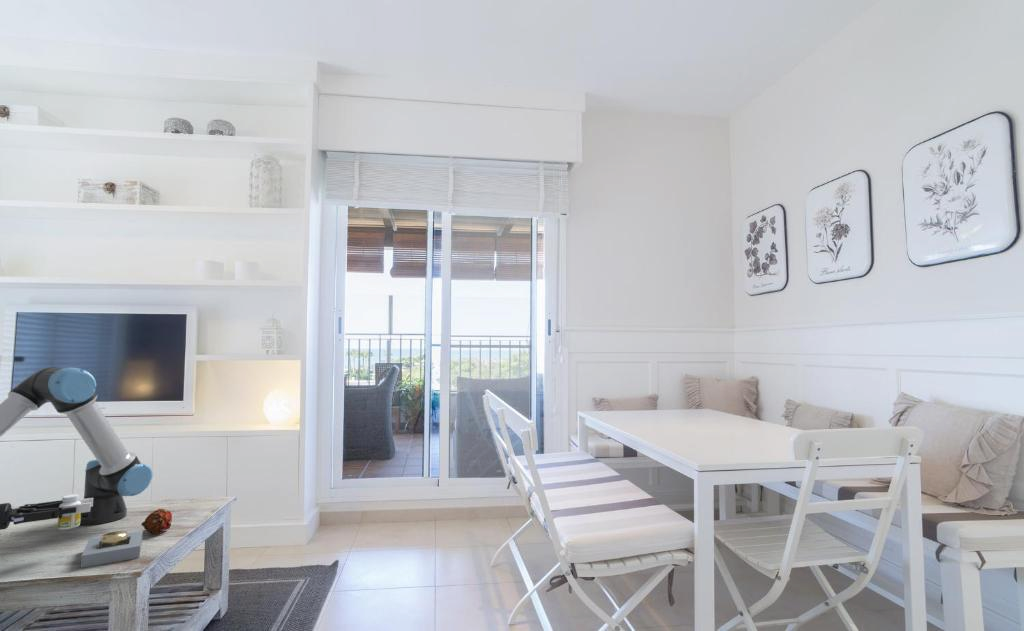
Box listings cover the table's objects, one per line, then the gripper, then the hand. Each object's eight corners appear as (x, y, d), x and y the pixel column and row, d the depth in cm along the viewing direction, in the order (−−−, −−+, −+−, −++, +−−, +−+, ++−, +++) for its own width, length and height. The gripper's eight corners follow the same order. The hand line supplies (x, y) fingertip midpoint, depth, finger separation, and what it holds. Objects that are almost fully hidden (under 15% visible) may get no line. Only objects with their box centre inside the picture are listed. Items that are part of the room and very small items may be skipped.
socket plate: (88, 550, 162) (89, 539, 162) (141, 541, 169) (142, 530, 170) (80, 567, 148) (81, 555, 149) (139, 557, 156) (140, 546, 156)
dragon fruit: (157, 541, 174) (151, 537, 182) (181, 522, 179) (174, 519, 188) (141, 524, 171) (135, 521, 180) (165, 505, 177) (159, 502, 185)
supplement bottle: (76, 522, 162) (78, 492, 163) (83, 525, 159) (84, 494, 160) (54, 527, 158) (56, 496, 158) (61, 531, 155) (63, 499, 156)
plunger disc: (102, 541, 160) (103, 533, 160) (127, 537, 164) (128, 529, 164) (100, 547, 155) (100, 539, 155) (125, 543, 158) (126, 535, 159)
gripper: (-2, 522, 156) (94, 508, 169) (-21, 540, 141) (86, 524, 154) (0, 497, 157) (95, 486, 170) (-19, 513, 142) (88, 500, 155)
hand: (91, 504), depth 162 cm, fingers closed on supplement bottle, 5 cm apart
